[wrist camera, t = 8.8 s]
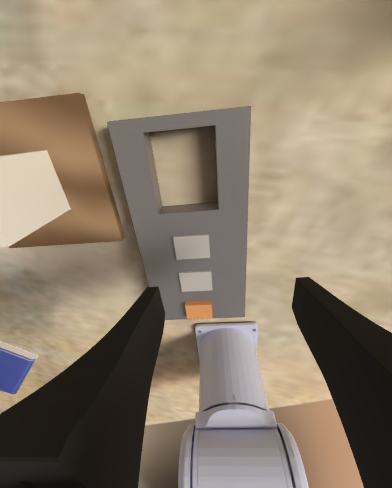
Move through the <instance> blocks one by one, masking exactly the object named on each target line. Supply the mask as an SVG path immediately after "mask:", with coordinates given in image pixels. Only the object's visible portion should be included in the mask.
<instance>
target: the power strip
mask: <svg viewBox="0 0 392 488" xmlns="http://www.w3.org/2000/svg"><path fill="white" fill-rule="evenodd" d="M250 122H251V106H246V107H237V108H228V109H219V110H210V111H201V112H192V113H183V114H173V115H164V116H155V117H146V118H137V119H128V120H119V121H110V122H107V125H108V129H109V133H110V136H111V140H112V144H113V148H114V152H115V156H116V160H117V164H118V168H119V172H120V175H121V179H122V183H123V187H124V191H125V195H126V199H127V203H128V207H129V211H130V215H131V218H132V222H133V226H134V230H135V234H136V238H137V242H138V246H139V250H140V254H141V257H142V261H143V265H144V269H145V273H146V277H147V281H148V285H149V287H158V286H159V290H160V294H161V298H162V302H163V306H164V310H165V320H176V319H204V318H232V317H245V289H246V255H247V222H248V189H249V156H250ZM205 126H214V128H215V152H216V175H217V199H218V202H216V203H203V204H190V205H177V206H164V207H162V202H161V197H160V191H159V185H158V179H157V174H156V168H155V162H154V157H153V151H152V145H151V140H150V134H149V132H157V131H166V130H176V129H185V128H195V127H205Z"/></svg>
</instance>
